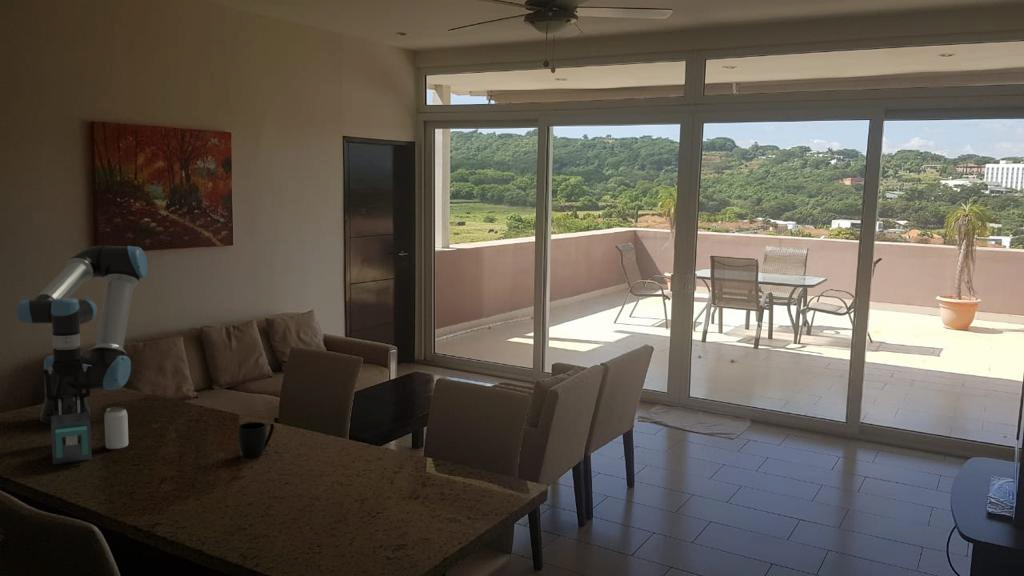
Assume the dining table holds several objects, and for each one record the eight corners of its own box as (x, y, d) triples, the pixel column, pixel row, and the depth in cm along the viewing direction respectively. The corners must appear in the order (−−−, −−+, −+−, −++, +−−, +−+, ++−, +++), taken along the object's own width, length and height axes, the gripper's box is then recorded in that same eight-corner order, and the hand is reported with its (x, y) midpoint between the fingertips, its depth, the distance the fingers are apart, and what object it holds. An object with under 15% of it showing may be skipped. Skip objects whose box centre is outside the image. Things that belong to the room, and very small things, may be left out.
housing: (52, 454, 238) (51, 415, 236) (90, 449, 243) (88, 411, 241) (52, 464, 229) (51, 424, 228) (91, 459, 234) (90, 420, 233)
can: (121, 450, 243) (120, 412, 242) (101, 449, 243) (99, 411, 242) (132, 443, 250) (131, 406, 248) (112, 442, 250) (110, 406, 248)
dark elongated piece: (61, 422, 250) (60, 395, 249) (77, 420, 252) (76, 393, 251) (63, 445, 227) (61, 415, 226) (80, 443, 230) (79, 413, 229)
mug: (282, 452, 245) (281, 422, 244) (249, 462, 235) (248, 431, 234) (265, 446, 250) (265, 417, 248) (232, 456, 240) (232, 426, 239)
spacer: (56, 454, 229) (55, 429, 228) (87, 450, 233) (86, 425, 232) (56, 458, 226) (55, 432, 225) (88, 454, 230) (87, 429, 229)
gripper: (34, 351, 239) (37, 426, 242) (98, 347, 248) (101, 419, 251) (34, 347, 245) (37, 420, 248) (97, 343, 254) (100, 413, 257)
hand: (69, 419), depth 249 cm, fingers closed on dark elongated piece, 4 cm apart
